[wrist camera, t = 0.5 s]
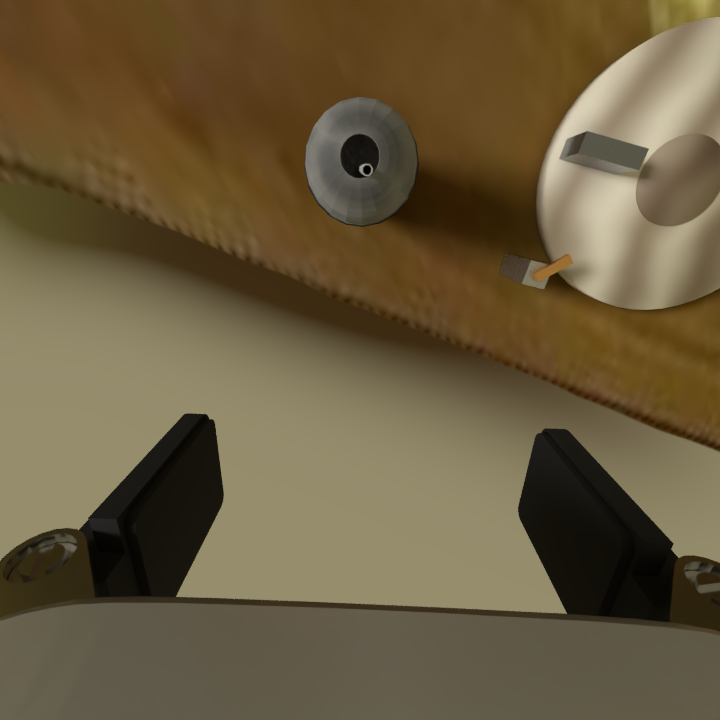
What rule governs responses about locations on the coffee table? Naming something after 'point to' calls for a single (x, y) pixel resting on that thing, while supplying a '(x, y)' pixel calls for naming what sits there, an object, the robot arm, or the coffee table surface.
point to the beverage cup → (361, 162)
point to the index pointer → (532, 269)
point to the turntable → (640, 175)
